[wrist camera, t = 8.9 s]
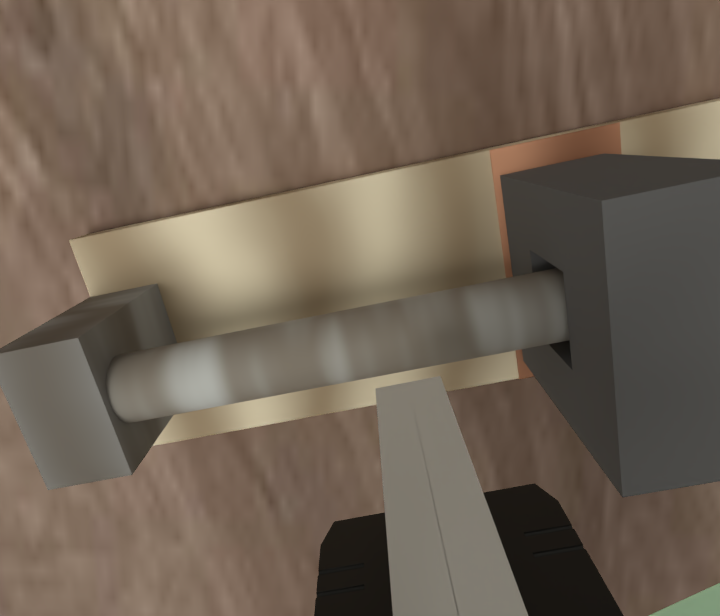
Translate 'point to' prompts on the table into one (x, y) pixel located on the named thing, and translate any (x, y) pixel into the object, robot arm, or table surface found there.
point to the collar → (629, 308)
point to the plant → (695, 604)
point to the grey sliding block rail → (302, 302)
